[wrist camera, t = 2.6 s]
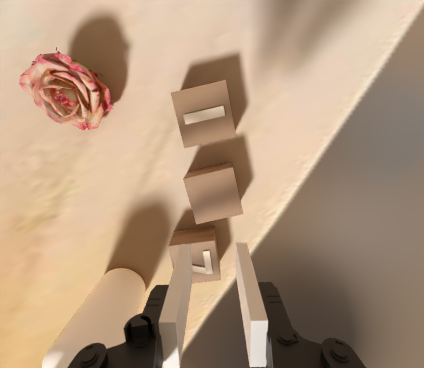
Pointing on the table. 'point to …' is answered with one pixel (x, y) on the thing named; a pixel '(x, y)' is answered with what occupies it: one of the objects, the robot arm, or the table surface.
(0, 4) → the table surface
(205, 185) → the plain block
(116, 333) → the potion bottle
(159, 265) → the table surface
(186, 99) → the marked block one
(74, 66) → the flower
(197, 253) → the marked block seven
